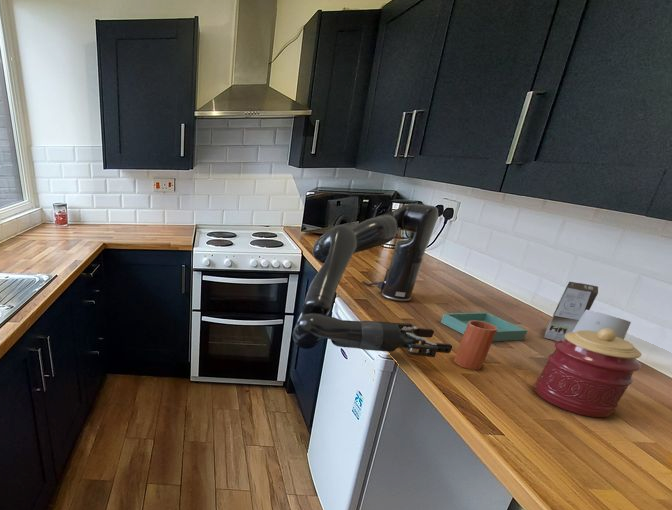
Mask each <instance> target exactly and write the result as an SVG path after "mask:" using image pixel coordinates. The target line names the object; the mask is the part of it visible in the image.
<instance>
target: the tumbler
mask: <svg viewBox="0 0 672 510" xmlns="http://www.w3.org/2000/svg"><path fill="white" fill-rule="evenodd" d="M496 332H497V327H496V326H494V325H492V324H489V323H486V322H482V321H475V320H473V321H469V322H468V324H467V327H466V329H465V332H464V334H462V337H461V340H460V342H459V345H458V347H457V351H456V352H455V355H454V359H453V362H454V363H455V364H456V365H458V366H459V367H462V368H465V369H468V370H473V371H478V370H481V369H482V367H483V366H484V363H485V361H486V358H487V356H488V353H489V351H490V348H491V346H492V344H493V342H494V341H493V339H494V337H495V334H496Z"/></svg>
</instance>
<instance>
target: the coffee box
mask: <svg viewBox="0 0 672 510" xmlns="http://www.w3.org/2000/svg"><path fill="white" fill-rule="evenodd" d="M598 294H599V286H598V285H592V284H587V283H581V282H575V281H568V283H567V285H566V287H565V289H564V292H563V293H562V295H561V297H560V299H559V302H558V303H557V306H556V308H555V310H554V312H553V314H552V316H551V319H550V321H549V324H548V325H547V328H546V329H545V333H544V336H543V338H545V339H547V340H552V341H555V342H557V341H559V340H565V339H566V338H565V334H566V333H570V332H572V331H573V329H574V328H575V326H576V325H577V323H578V321H579V320H580V318H581V317H582V315H583V314H584V312H585V310H591V308H592V306H593V304H594V302H595V300H596V298H597V296H598Z"/></svg>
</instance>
